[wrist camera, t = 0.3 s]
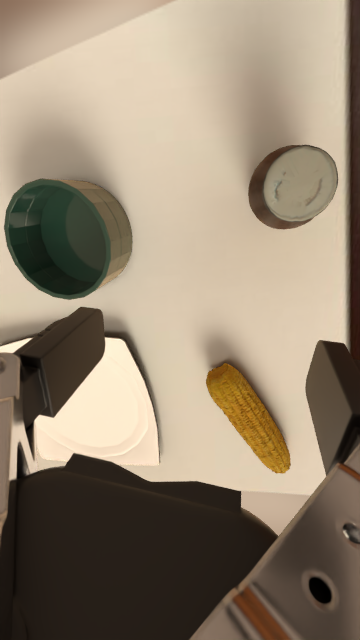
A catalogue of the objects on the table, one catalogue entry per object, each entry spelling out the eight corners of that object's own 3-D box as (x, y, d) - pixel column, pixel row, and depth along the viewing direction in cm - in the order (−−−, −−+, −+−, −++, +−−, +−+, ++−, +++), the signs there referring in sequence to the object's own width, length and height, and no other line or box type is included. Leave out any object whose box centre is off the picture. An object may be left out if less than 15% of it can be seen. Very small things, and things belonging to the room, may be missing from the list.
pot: (35, 176, 40) (-6, 174, 34) (133, 185, 38) (109, 185, 31) (46, 276, 46) (14, 290, 40) (131, 290, 44) (111, 307, 37)
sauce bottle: (317, 197, 34) (387, 206, 16) (267, 230, 36) (281, 269, 18) (288, 147, 32) (331, 94, 15) (239, 184, 35) (225, 178, 17)
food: (203, 367, 46) (197, 391, 41) (234, 353, 44) (231, 375, 39) (271, 460, 51) (273, 492, 45) (302, 451, 48) (308, 483, 43)
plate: (-7, 336, 54) (-19, 342, 51) (136, 323, 46) (129, 330, 43) (47, 453, 64) (39, 463, 62) (171, 459, 56) (168, 471, 54)
